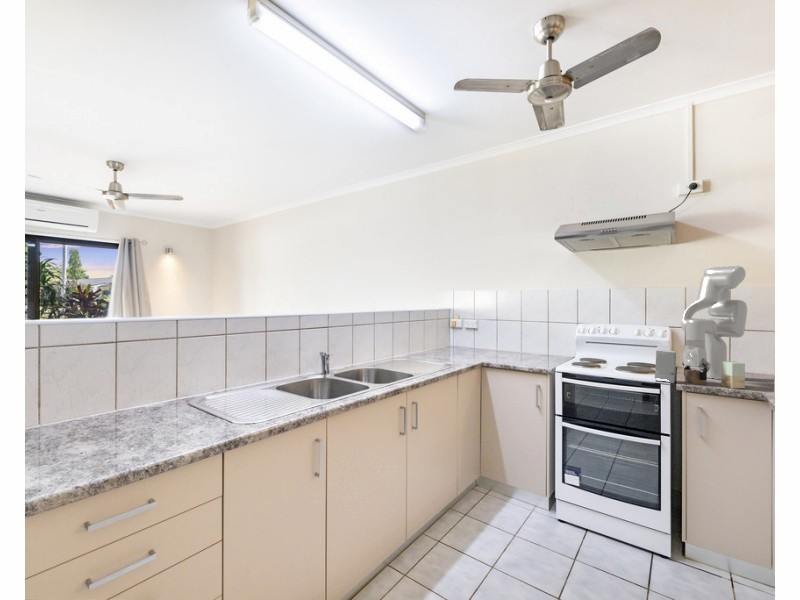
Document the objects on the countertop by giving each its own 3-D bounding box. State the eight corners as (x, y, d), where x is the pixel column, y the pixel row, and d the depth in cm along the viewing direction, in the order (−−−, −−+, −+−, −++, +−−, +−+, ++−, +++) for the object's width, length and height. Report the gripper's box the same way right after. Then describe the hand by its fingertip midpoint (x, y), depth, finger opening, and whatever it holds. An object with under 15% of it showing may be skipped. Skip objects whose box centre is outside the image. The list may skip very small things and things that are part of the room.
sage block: (721, 373, 182) (721, 361, 182) (733, 373, 182) (733, 361, 182) (732, 376, 176) (732, 363, 176) (745, 376, 176) (745, 363, 176)
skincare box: (654, 381, 192) (654, 350, 192) (656, 379, 197) (656, 349, 197) (675, 383, 186) (675, 351, 186) (676, 381, 192) (676, 350, 192)
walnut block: (684, 381, 192) (685, 369, 192) (696, 381, 192) (696, 369, 192) (694, 384, 186) (694, 372, 186) (706, 384, 186) (706, 372, 186)
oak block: (721, 386, 182) (721, 373, 182) (733, 386, 182) (733, 373, 182) (732, 388, 176) (732, 376, 176) (744, 388, 176) (745, 376, 176)
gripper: (675, 342, 197) (674, 374, 197) (702, 345, 180) (701, 381, 180) (689, 342, 197) (689, 374, 197) (717, 346, 180) (717, 381, 180)
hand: (695, 378), depth 189 cm, fingers open, 9 cm apart
